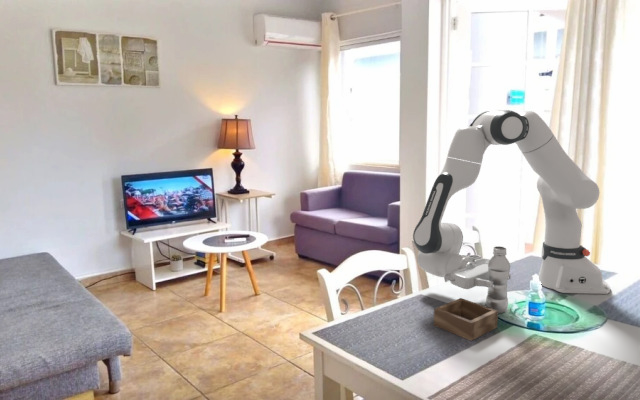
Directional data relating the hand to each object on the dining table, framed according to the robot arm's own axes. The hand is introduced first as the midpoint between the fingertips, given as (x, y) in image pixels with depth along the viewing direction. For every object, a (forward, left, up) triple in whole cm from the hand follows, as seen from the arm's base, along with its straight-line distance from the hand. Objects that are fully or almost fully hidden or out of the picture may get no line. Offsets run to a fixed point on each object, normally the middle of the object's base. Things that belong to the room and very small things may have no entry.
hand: (500, 280), depth 149 cm
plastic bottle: (+1, -1, -10) cm, 10 cm away
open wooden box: (+10, +12, -10) cm, 19 cm away
